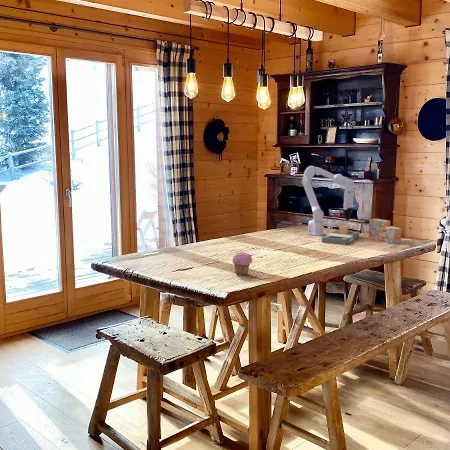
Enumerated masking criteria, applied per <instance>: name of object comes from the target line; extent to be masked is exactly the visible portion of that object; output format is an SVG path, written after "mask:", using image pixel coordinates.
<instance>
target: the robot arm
mask: <svg viewBox="0 0 450 450" xmlns="http://www.w3.org/2000/svg"><path fill="white" fill-rule="evenodd" d="M315 175H316V176H323V177H325V178H328V179H331V180H332V181H333V183H335V184H336V185H339V186H342V187H344V193H343V206H342V207H343V208H342V211H343V213H344V217H345V218H344V219H345V221H350V219H351V216H352V212H354V208H356V205H354V195H355V192H354V189H355V188H354V187H355V181H354V180H353V179H352V178H349V177H348V176H343V175H342V173H337V174H333V173H332V172H329V171H327V170H326V169H323V168H321V167H317V166H314V165H309V166H307V167H306V169H305V170H304V171H303V176H302V180H301V181H302V182H301V183H302V185H303V189H304V191H305V194H306V197H307V198H308V201H309V204H310V206H311V210H312V220H311V219H310V220H309V221H308V225H307V235H313V236H320V237H321V236H322V237H323V236H324V235H326V232H324V227H325V225H324V224H325V220H324V219H323V218H324V216H325V213H324V211H323V210H322V209H321V206H320V205H319V202H318V200H317V197H316V194H315V191H314V189H313V187H312V183H311V180H312V179H313V177H314V176H315Z"/></svg>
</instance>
